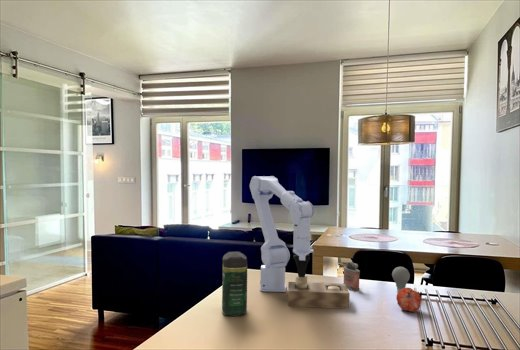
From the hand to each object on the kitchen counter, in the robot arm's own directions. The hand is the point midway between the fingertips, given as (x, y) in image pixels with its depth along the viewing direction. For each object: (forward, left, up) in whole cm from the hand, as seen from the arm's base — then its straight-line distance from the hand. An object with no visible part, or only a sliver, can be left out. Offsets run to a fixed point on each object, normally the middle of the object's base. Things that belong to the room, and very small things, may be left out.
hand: (301, 276), depth 122 cm
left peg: (0, 0, -5) cm, 5 cm away
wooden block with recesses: (+5, 0, -9) cm, 10 cm away
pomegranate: (+34, -4, -9) cm, 36 cm away
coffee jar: (-22, -11, -9) cm, 26 cm away
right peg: (+11, 0, -8) cm, 14 cm away
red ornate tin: (+19, +16, -9) cm, 27 cm away
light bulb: (+36, +11, -9) cm, 39 cm away
